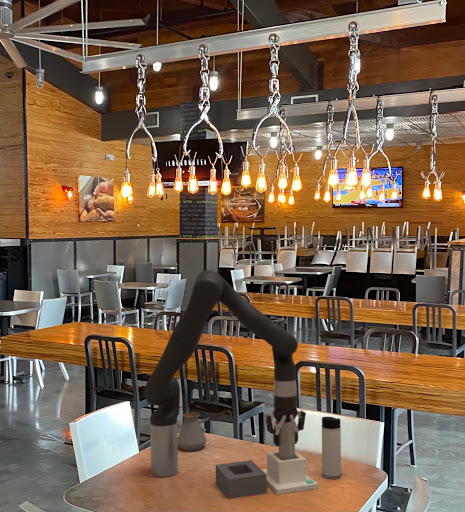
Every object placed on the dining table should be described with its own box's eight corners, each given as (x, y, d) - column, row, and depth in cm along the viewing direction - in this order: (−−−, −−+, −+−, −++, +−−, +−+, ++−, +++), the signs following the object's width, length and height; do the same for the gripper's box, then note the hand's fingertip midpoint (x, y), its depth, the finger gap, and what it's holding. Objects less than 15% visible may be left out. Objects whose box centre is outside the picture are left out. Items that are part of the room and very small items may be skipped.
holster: (215, 483, 202) (215, 464, 202) (251, 478, 206) (251, 460, 206) (228, 498, 189) (228, 479, 189) (266, 493, 193) (266, 474, 193)
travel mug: (317, 476, 207) (317, 417, 206) (329, 471, 212) (328, 413, 211) (333, 481, 202) (333, 420, 202) (344, 475, 207) (344, 416, 207)
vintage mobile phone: (282, 468, 206) (281, 393, 205) (295, 471, 203) (294, 395, 202) (276, 471, 203) (275, 395, 202) (289, 474, 200) (288, 398, 199)
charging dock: (256, 474, 209) (256, 449, 209) (294, 469, 214) (294, 444, 213) (277, 494, 192) (277, 467, 192) (317, 488, 197) (317, 461, 196)
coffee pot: (173, 452, 233) (173, 412, 233) (180, 442, 244) (179, 404, 244) (229, 453, 230) (229, 413, 230) (233, 444, 242) (233, 406, 242)
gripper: (300, 388, 208) (300, 438, 208) (260, 392, 204) (261, 443, 204) (310, 393, 201) (310, 445, 201) (269, 397, 196) (269, 450, 197)
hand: (285, 444), depth 203 cm, fingers closed on vintage mobile phone, 5 cm apart
